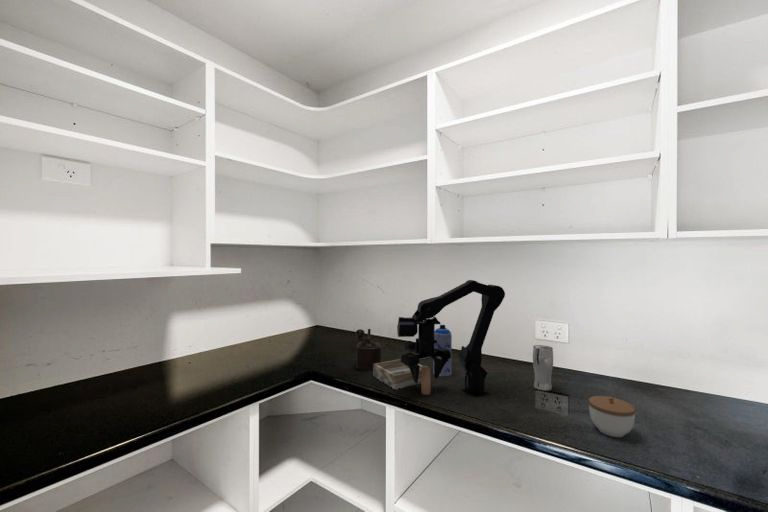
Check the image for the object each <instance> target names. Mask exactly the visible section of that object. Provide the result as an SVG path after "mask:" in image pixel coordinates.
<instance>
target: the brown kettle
mask: <svg viewBox="0 0 768 512" xmlns="http://www.w3.org/2000/svg"><path fill="white" fill-rule="evenodd" d="M371 330H372V329H371V328H368V329H367V338H366V339H364V336H365V330H363V329H361V328H359V329H357V330H356V331H354V332H355V333H354V334H355V336H356V341H357V345H356V362H355V363H354V366H355V367H356V368H355V369H356V370H357V371H373V364H375V363H381V352H382V351H381V349H382V348H381V344H380V342H375V341H373V340H371V333H372V332H371Z"/></svg>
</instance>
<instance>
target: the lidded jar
mask: <svg viewBox="0 0 768 512" xmlns="http://www.w3.org/2000/svg"><path fill="white" fill-rule="evenodd" d="M588 410H589V415H590V416H589V417H590V419H591V421H592V422H593V424H594V425H595V426H596V428H597V429H598V431H599V432H601V434H604V435H606V436H609V437H613V438H623V437H625V435H627V434H629V433H630V432H631V431H632V429H633V428H634V425H635V421H636V420H635V418H636V407H635V406H634V405H633V404H631V403H630V402H628V401H625V400H624V399H623V400H622V399H619V398H617V397H613V396H605V395H594V396H591V397H589V398H588Z"/></svg>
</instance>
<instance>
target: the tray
mask: <svg viewBox="0 0 768 512" xmlns="http://www.w3.org/2000/svg"><path fill="white" fill-rule="evenodd" d="M418 365H420V369H419V376H418V382H417V383H415V382H414V379H413V376H412V373H411V371H410V369H409V367H408V366H407V365H405V364H404V363H402V362H401V358H399V359H393V360H387V361H380V363H375V364H373V370H372V377H373V376H374V377H373V378H375V377H376V378H375V379H377V380H378V379H379V381H380V382H381V383H383V382H384V385H386V384H387V385H386V386H388V387H390V388H391V387H392V388H391V389H393V390H394V389H395V390H399V388H400V389H404V388H407V387H412V386H417V385H420V384H421V375H422V366H423V365H422V364H420V363H419V364H418Z"/></svg>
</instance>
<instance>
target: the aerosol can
mask: <svg viewBox="0 0 768 512" xmlns="http://www.w3.org/2000/svg"><path fill="white" fill-rule="evenodd" d="M452 338H453V337H452V332H451V331H450V330H449V329H448V328H447V327H446V325H445V324H439V327H438V328H435V340H437V343H435V348H440V347H442V348H445V349H447V350H449V351H450V352H451V353H452V349H453V348H452V340H453V339H452ZM432 361H433V363H432V365H433V366H432V374H434V375H435V373H434V360H433V359H432ZM452 374H453V373H452V357H451V358H450V359H448V361H447V362H446V363H445V365H444V367H443V369H442V370H441V372H440V374H439V376H438V377H449V375H450V376H452Z"/></svg>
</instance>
